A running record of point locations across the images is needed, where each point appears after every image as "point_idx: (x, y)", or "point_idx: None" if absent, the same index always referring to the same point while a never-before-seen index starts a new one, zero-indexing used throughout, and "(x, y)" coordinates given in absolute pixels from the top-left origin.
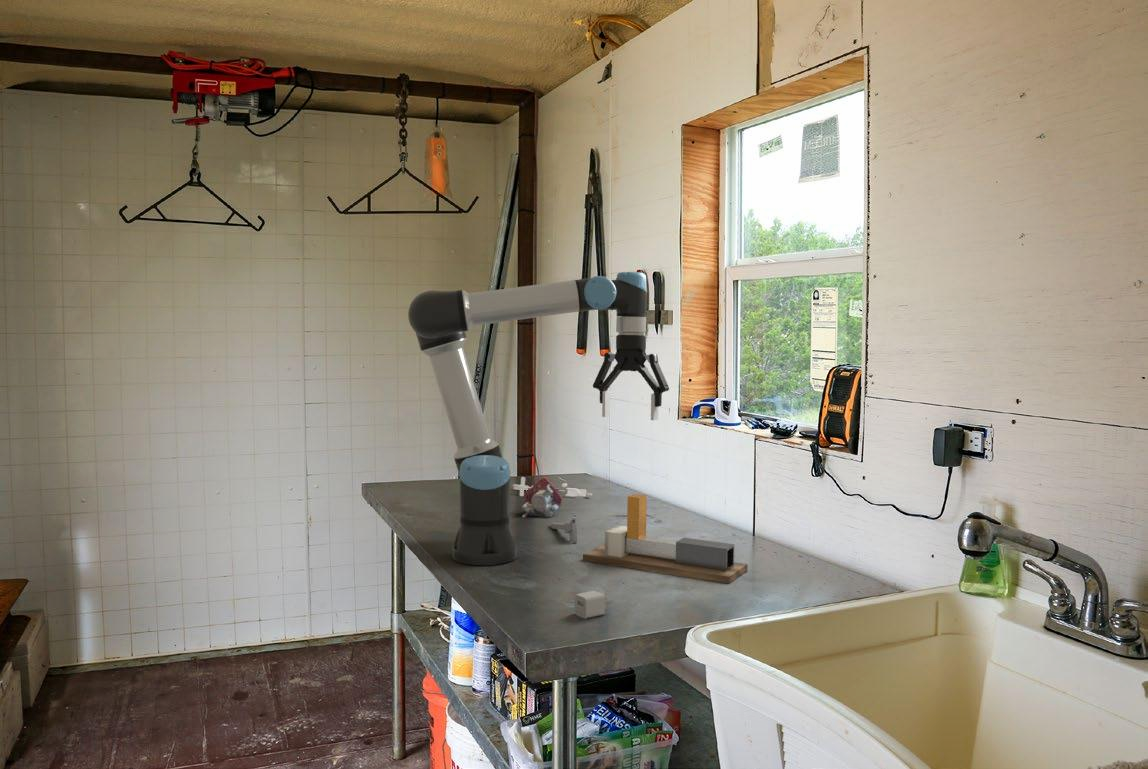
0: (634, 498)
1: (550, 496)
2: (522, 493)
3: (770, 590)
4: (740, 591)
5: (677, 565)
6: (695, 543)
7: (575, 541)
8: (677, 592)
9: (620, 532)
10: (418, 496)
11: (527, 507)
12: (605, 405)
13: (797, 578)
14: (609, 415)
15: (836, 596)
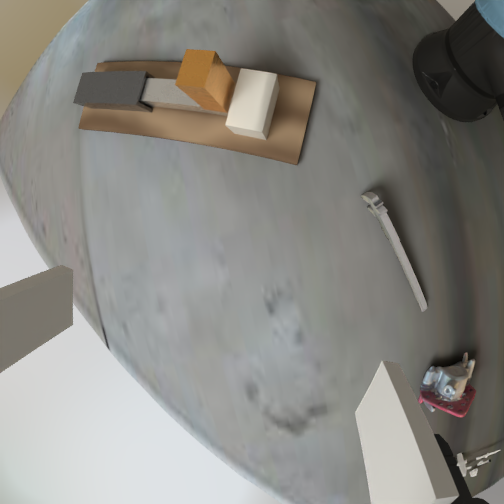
0: (198, 51)
1: (440, 394)
2: (459, 456)
3: (68, 67)
4: (93, 47)
5: (157, 75)
6: (118, 78)
7: (362, 194)
8: (156, 9)
9: (245, 76)
10: None
11: (467, 363)
12: (399, 414)
13: (44, 126)
14: (356, 413)
15: (26, 86)
